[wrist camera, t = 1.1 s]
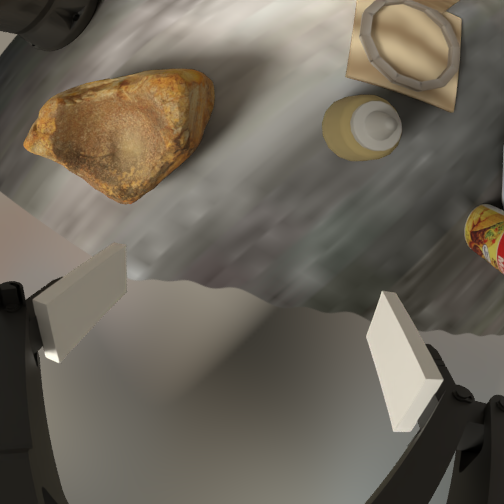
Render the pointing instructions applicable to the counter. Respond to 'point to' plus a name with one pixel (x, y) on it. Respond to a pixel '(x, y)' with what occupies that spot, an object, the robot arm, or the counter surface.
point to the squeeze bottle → (362, 128)
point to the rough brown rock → (125, 129)
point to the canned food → (487, 234)
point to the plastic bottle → (503, 181)
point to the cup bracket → (407, 48)
